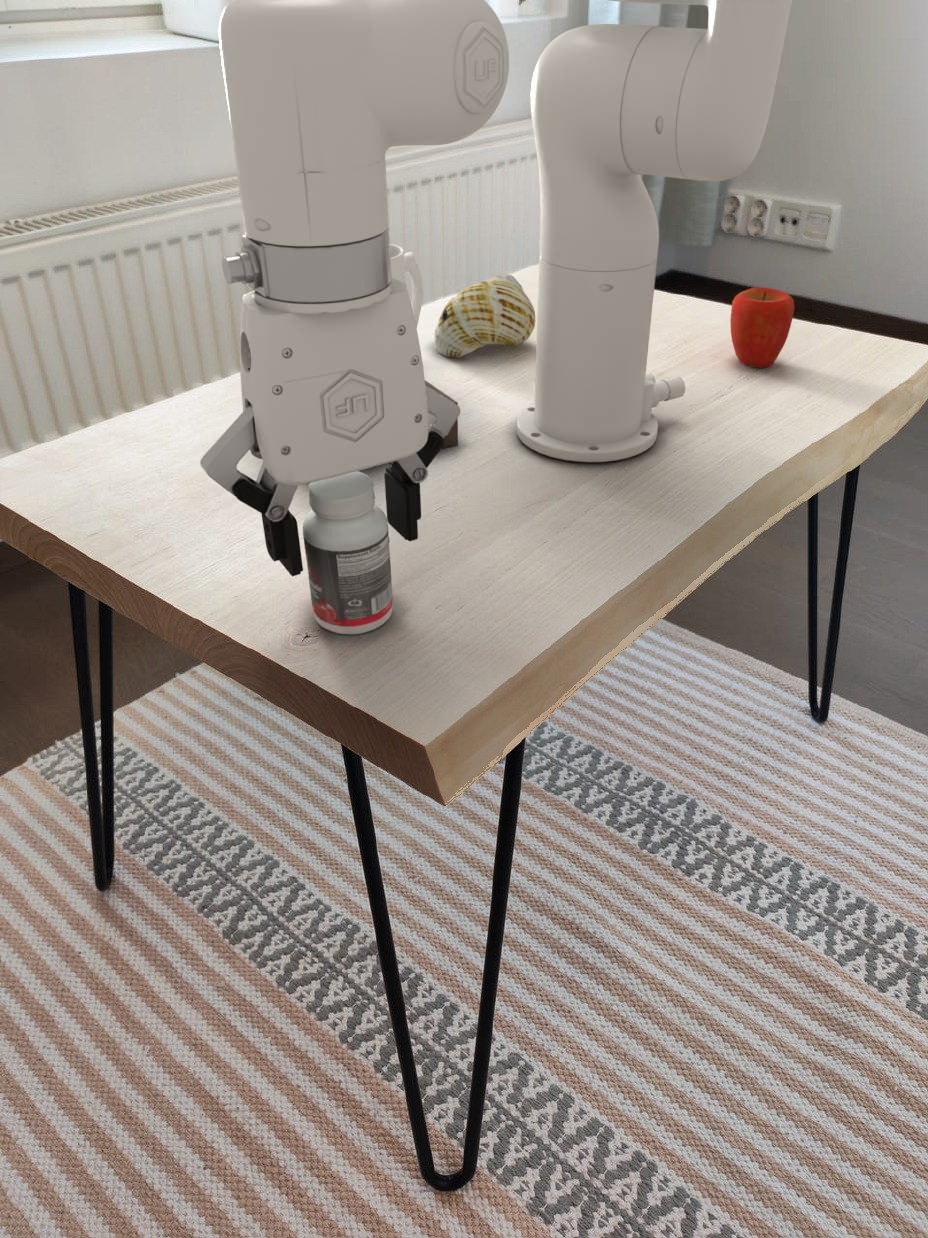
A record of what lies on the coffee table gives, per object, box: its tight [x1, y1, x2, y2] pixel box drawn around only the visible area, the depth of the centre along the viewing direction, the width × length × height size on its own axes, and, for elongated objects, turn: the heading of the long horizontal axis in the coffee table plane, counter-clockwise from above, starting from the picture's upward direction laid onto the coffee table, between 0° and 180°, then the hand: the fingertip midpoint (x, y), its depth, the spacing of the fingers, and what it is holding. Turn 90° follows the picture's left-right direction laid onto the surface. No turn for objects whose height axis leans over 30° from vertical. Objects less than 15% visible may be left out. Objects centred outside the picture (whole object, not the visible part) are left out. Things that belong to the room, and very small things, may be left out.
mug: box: [390, 243, 424, 329], centre depth 99 cm, size 10×7×12 cm, turn 134°
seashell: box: [434, 273, 536, 358], centre depth 105 cm, size 10×10×10 cm
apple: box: [729, 286, 795, 369], centre depth 100 cm, size 6×6×8 cm
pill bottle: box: [302, 471, 394, 635], centre depth 63 cm, size 5×5×10 cm
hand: (347, 546), depth 63 cm, fingers open, 7 cm apart
